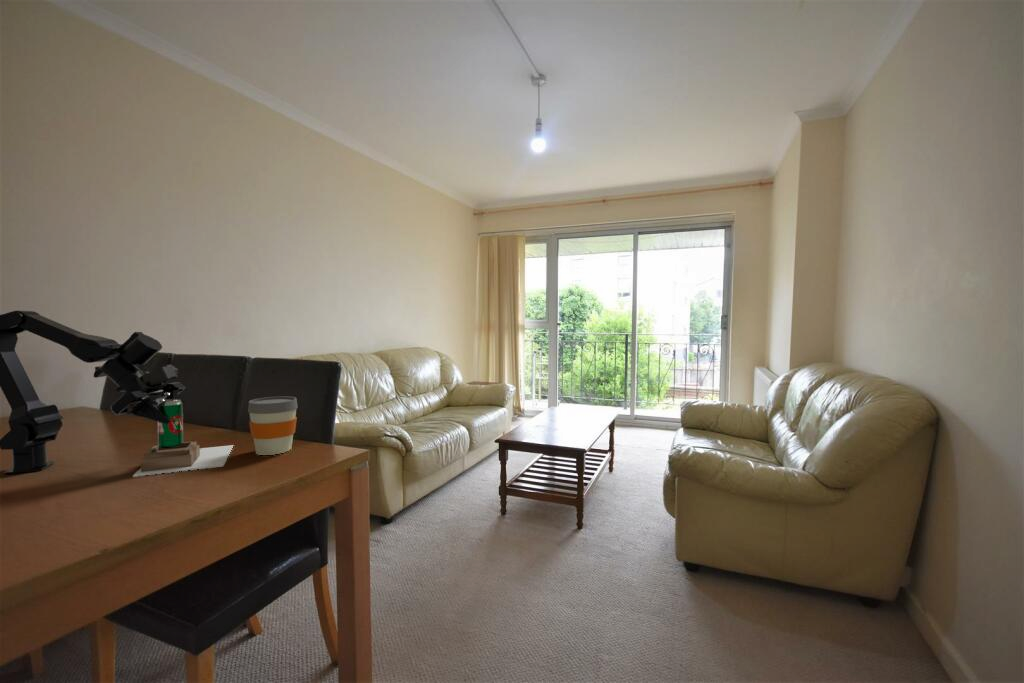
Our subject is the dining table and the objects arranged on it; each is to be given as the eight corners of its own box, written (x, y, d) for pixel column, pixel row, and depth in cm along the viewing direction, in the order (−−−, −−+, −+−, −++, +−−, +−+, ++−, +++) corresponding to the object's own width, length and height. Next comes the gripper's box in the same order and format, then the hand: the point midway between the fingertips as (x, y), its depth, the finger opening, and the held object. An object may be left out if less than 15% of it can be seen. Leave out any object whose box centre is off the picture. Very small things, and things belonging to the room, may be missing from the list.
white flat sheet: (157, 454, 119) (157, 452, 119) (233, 446, 127) (233, 444, 127) (132, 477, 101) (132, 475, 101) (223, 466, 109) (223, 464, 109)
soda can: (158, 445, 110) (157, 399, 110) (183, 442, 114) (182, 397, 113) (157, 450, 106) (157, 402, 106) (183, 446, 110) (182, 400, 109)
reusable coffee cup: (307, 449, 125) (306, 398, 124) (264, 460, 114) (263, 405, 114) (282, 443, 131) (281, 395, 131) (239, 453, 121) (238, 401, 120)
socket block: (153, 462, 112) (153, 444, 112) (199, 457, 117) (199, 440, 117) (141, 474, 104) (140, 455, 103) (191, 468, 108) (191, 449, 108)
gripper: (123, 358, 99) (175, 404, 101) (177, 353, 118) (220, 392, 120) (87, 391, 99) (139, 438, 100) (147, 381, 117) (190, 420, 119)
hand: (176, 420), depth 110 cm, fingers closed on soda can, 5 cm apart
